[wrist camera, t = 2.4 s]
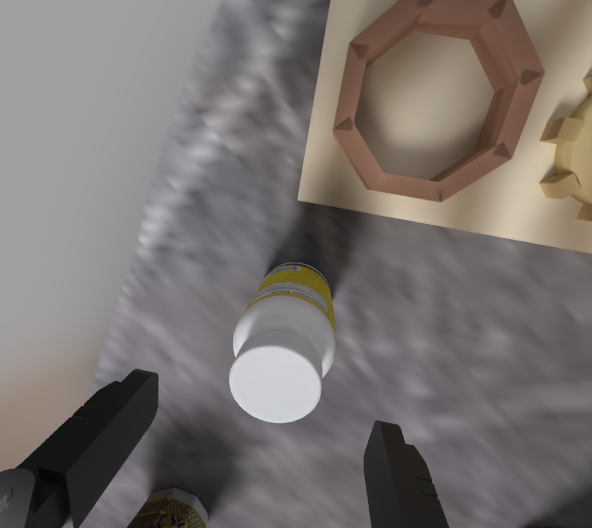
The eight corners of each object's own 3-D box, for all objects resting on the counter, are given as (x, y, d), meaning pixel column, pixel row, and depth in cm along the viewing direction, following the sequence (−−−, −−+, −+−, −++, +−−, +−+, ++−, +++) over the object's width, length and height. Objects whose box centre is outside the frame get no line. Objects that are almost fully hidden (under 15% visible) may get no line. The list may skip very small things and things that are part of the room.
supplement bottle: (307, 338, 22) (294, 455, 12) (249, 303, 21) (190, 397, 12) (346, 284, 20) (364, 374, 11) (283, 246, 20) (246, 304, 10)
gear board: (762, 37, 14) (973, -31, 9) (634, 259, 18) (742, 287, 13) (336, -22, 15) (340, -111, 10) (299, 198, 19) (290, 205, 14)
